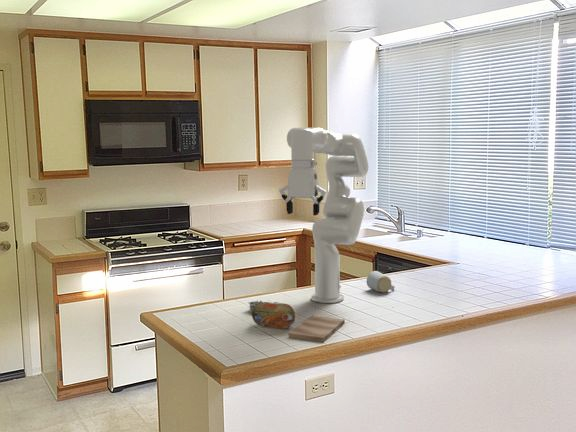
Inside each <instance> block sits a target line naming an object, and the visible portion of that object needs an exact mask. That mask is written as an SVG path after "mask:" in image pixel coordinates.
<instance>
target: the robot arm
mask: <svg viewBox="0 0 576 432" xmlns="http://www.w3.org/2000/svg"><path fill="white" fill-rule="evenodd" d="M286 142H287V145H288V147H289V148H290V150H291V151H290V152H291V153H290V154H291V161H290V162H291V164H290V165H291V168H289V172H288V178H287V185H286V186H284V187H282V188H280V189H278V190H279V191H278V192H279V194H280V196H281V198H282V199H283V200H284V202H285V203H286V204H285V206H286V213H287V215H291V214H293V213H294V207H293V206H294V202H293V200H294V198H298V199H311V200H312V201H313V203H312V204H313V205H312V215H313V216H317V215H319V213H320V203H321V202H322V201H323V200H324V199H325V202H324V204H323V208H322V215H323V217H324V218H319V219H317V220H315V221H314V222H313V224H312V227H311V229H312V231H311V232H312V236H313V238H312V239H313V243H314V280H315V281H314V282H315V285H314V287H315V288H314V293H313V294H312V295H311V297H310V298H311V300H312V301H313V302H316V303H320V304H321V303H322V304H333V303H339V302H342V301H344V298H345V296H344V295H343V294H342V293H340V292H341V291H340V289H341V287H342V286H341V284H340V282H341V279H340V276H341V275H340V273H341V272H340V271H341V270H340V268H341V267H340V265H341V262H340V260H341V258H340V257H341V255H340V252H339V250H338V248H337V247H336V245H342V246H343V245H344V246H347V245H348V246H349V245H350V246H351V245H354V244H355V243H356V241H357V239H358V237H359V233H360V230H361V226H362V223H363V218H364V213H365V207H364V203H363V201H362V199H360V198H358V197H350V195H351V189H350V187H349V185H348V183H347V182H346V181H345V180H344V179H343V178H363V177H364V176H366V175H367V174H368V171H369V161H368V157H367V155H366V150H365V146H364V142H363V141H362V138H361V137H360V136H359V135H358V134H356V133H335V132H332V131H329V130H325V129H324V128H322V127H292V128H290V129H289V130H288V132H287V134H286ZM314 153H315V154H323V155H330V157H328V158H327V160H326V161H325V171H326V178H327V181H328V182H327V183H328V191H327V190H325V189H324V188H322V187H320V186H319V179H318V174H317V173H318V172H317V169H316V168H315V166H318V162H317V161H315V160H314ZM286 191H287V194H286ZM319 193H320V196H319ZM318 196H319V197H318ZM325 197H326V198H325Z"/></svg>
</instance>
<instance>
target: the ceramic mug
mask: <svg viewBox="0 0 576 432" xmlns="http://www.w3.org/2000/svg"><path fill="white" fill-rule="evenodd" d="M366 285H367V287H368V288H369V289H370V290H373V291H374V292H375V291H376V292H378V293H383V294H384V293H387V292H388V291H390V290H393V291H394V290H395V288H396V286H394V285H393V284H392V280H391V278H390V277H389V276H388V275H386V274H384V273H382V272H380V271H378V270H373V271H370V273H369V274H368V275H367V277H366Z"/></svg>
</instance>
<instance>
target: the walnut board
mask: <svg viewBox="0 0 576 432" xmlns="http://www.w3.org/2000/svg"><path fill="white" fill-rule="evenodd" d="M345 323H346V321H345V319H344V318H337V317H329V316H321V315H320V316H319V315H313V314H312V315H311V316H309V317H308V318H307V319H306V320H304V321H303V322H300V324H298V325H297V326H296V327H295V328H294V329H292V330H291V331H289V333H288V338H289V339H299V340H306V341H312V342H320V343H325V342H326V341H327V340H328V339H329V338H330V337H332V336H333V334H335V333H336V332H337V331H338V330H339V329H340V328H342V327H343V326H344V325H345ZM343 324H344V325H343Z"/></svg>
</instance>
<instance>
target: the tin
mask: <svg viewBox="0 0 576 432" xmlns="http://www.w3.org/2000/svg"><path fill="white" fill-rule="evenodd" d="M251 316H252V320H253V322H254V323H255V324H256V325H257V326H259V327H260V328H267V329H268V328H269V329H280V330H286V329H289V328H290V327H291V326H292V325H293V324H295V323H294V322H295V321H296V312H295V310H294V308H293V306H291V305H290V304H288V303H282V302H281V303H280V302H278V303H274V302H271V301H270V302H267V301H263V302H262V303H259V304H257V305H256V306H255V307H254V308H253V311H252V312H251Z"/></svg>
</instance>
